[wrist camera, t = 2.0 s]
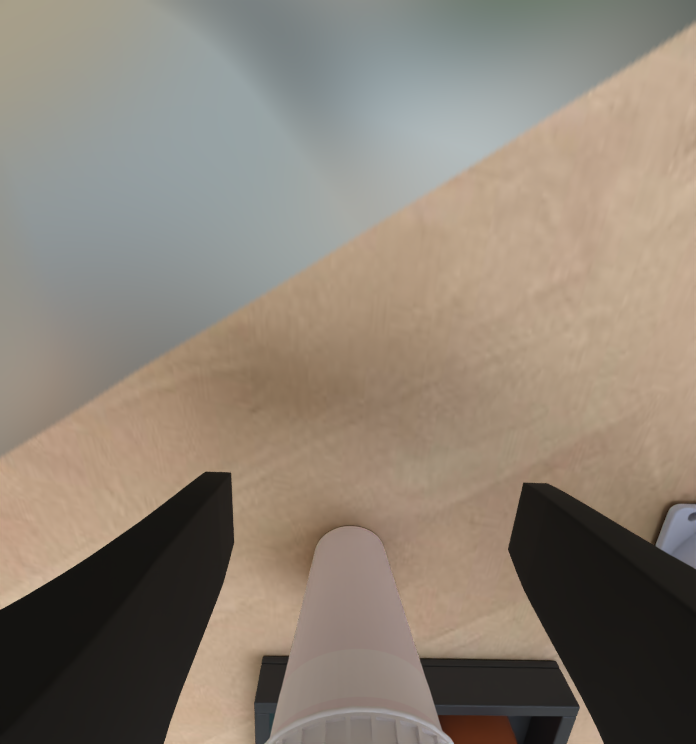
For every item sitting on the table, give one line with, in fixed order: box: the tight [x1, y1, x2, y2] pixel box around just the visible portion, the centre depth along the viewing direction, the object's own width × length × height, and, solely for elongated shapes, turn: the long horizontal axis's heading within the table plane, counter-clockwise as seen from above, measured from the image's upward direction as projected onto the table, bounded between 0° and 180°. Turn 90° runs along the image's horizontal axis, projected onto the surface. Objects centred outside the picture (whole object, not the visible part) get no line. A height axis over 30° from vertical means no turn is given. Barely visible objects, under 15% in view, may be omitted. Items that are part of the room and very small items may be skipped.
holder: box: [254, 656, 580, 744], centre depth 22 cm, size 9×17×2 cm, turn 87°
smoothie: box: [265, 526, 454, 744], centre depth 13 cm, size 6×6×14 cm
